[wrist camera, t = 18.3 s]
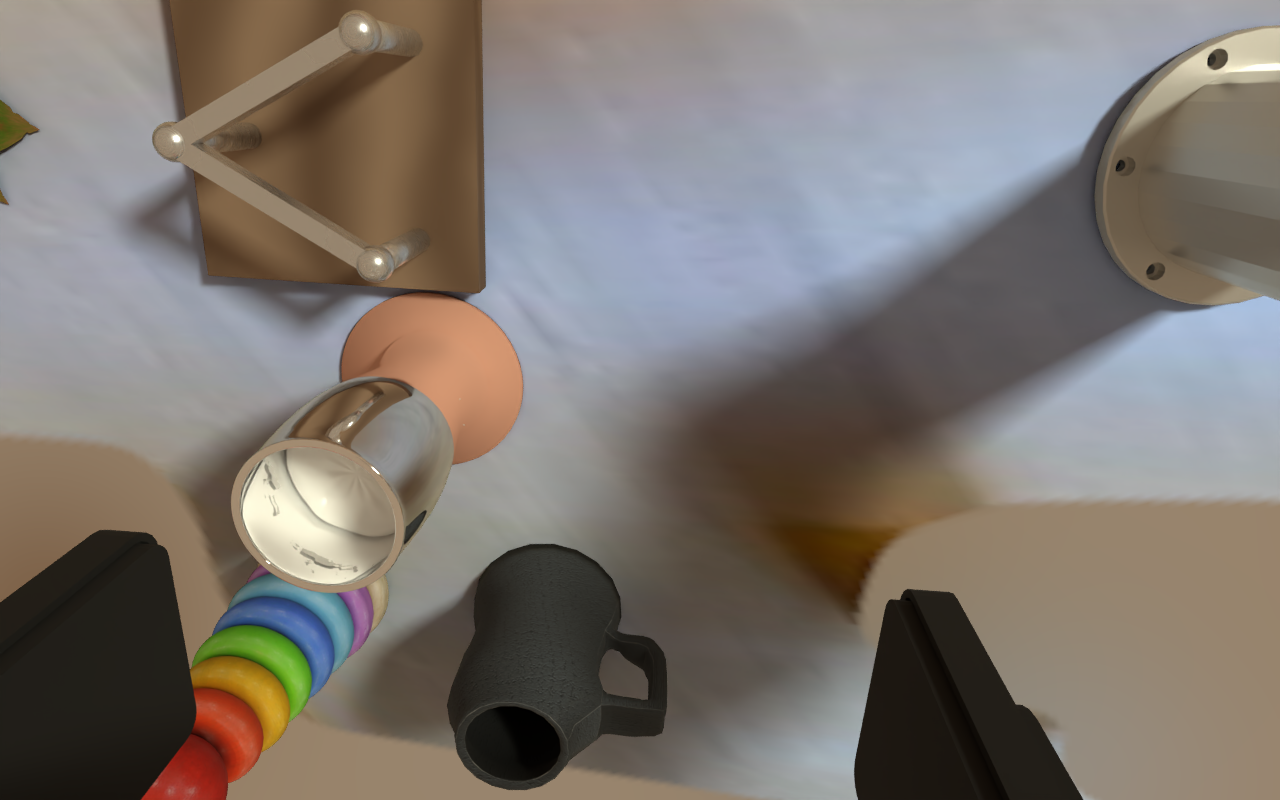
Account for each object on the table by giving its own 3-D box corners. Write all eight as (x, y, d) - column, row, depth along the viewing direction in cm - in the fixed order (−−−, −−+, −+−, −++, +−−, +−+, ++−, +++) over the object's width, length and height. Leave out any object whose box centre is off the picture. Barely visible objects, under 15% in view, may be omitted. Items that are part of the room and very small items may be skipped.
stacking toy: (327, 498, 47) (117, 738, 29) (419, 591, 49) (274, 867, 31) (238, 565, 49) (-8, 828, 31) (330, 652, 51) (147, 944, 33)
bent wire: (426, 24, 36) (371, 8, 30) (435, 257, 40) (388, 287, 33) (217, 12, 36) (119, -6, 30) (246, 244, 40) (164, 272, 34)
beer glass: (407, 456, 45) (284, 618, 31) (349, 346, 43) (188, 469, 29) (517, 417, 44) (441, 569, 30) (463, 303, 42) (353, 408, 28)
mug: (471, 657, 50) (417, 805, 40) (477, 534, 47) (420, 659, 37) (658, 681, 50) (652, 835, 40) (677, 560, 47) (677, 692, 37)
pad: (523, 298, 42) (522, 299, 42) (522, 468, 45) (522, 471, 45) (336, 285, 42) (334, 287, 42) (350, 456, 46) (348, 458, 45)
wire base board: (481, -11, 37) (473, -15, 35) (485, 286, 42) (478, 293, 40) (184, -28, 37) (164, -33, 36) (224, 269, 42) (208, 275, 41)
